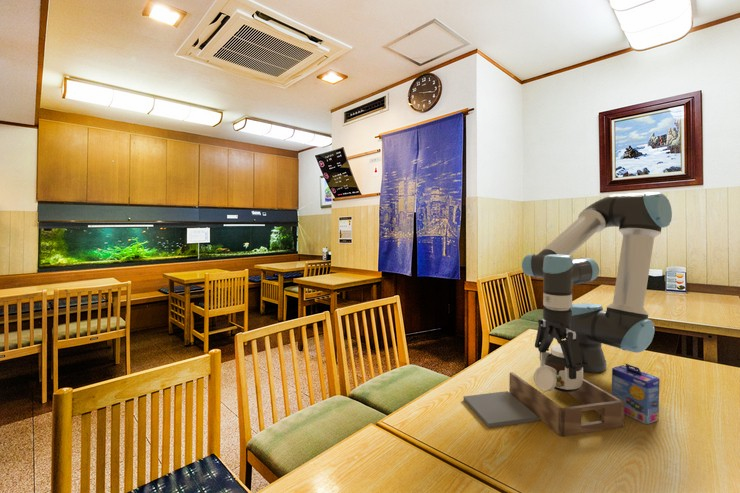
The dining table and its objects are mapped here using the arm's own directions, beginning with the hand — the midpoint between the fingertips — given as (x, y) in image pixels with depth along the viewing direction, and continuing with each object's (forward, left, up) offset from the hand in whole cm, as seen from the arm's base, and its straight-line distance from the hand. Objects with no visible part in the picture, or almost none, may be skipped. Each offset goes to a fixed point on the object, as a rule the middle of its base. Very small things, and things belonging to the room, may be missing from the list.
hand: (556, 380), depth 106 cm
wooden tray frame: (+3, 0, -7) cm, 8 cm away
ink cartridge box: (+10, +17, -8) cm, 21 cm away
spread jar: (0, 0, -2) cm, 3 cm away
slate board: (-1, -18, -7) cm, 20 cm away
